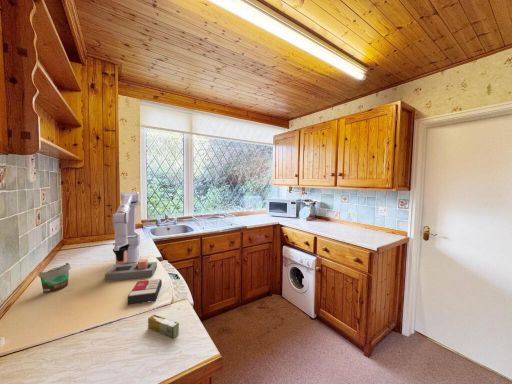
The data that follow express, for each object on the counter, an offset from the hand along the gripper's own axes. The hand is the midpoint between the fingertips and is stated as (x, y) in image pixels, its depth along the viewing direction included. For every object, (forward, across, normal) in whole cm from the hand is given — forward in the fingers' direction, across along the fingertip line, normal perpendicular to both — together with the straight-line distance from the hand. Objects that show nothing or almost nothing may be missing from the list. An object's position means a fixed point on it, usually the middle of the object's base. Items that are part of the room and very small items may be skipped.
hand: (122, 259), depth 116 cm
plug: (+2, 0, 0) cm, 2 cm away
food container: (+9, +9, -24) cm, 27 cm away
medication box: (+9, +51, +30) cm, 60 cm away
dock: (+8, 0, +5) cm, 10 cm away
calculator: (+9, +24, +18) cm, 31 cm away
